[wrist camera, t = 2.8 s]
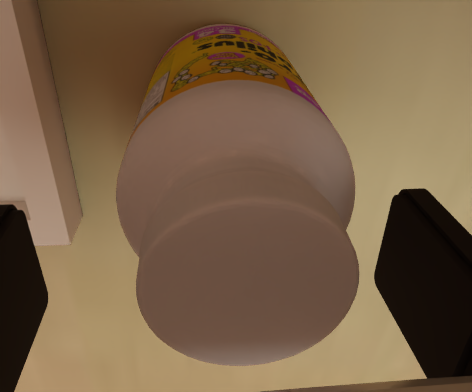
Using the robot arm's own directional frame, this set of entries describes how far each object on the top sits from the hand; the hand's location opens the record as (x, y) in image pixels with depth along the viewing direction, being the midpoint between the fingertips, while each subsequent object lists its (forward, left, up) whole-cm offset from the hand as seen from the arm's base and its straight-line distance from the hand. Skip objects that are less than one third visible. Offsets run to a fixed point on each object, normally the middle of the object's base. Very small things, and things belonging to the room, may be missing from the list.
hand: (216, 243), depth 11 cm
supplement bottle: (-1, 0, -11) cm, 11 cm away
